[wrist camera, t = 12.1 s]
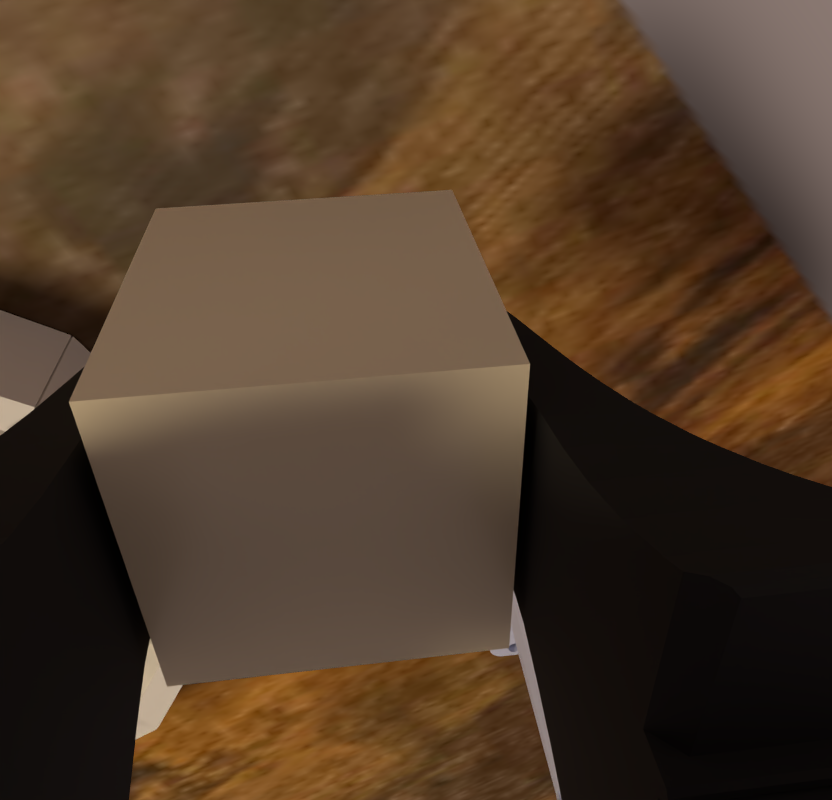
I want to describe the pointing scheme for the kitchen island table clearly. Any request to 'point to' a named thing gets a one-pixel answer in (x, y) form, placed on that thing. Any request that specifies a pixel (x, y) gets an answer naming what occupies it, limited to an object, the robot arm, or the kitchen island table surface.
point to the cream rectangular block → (310, 435)
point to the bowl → (19, 395)
